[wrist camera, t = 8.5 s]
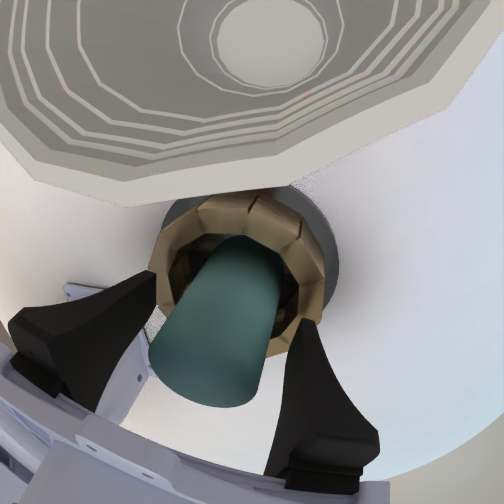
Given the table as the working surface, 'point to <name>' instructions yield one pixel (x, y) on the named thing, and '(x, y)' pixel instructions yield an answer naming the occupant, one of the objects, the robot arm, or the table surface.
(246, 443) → the table surface
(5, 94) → the plastic cup
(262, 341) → the peg
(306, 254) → the ring holder
